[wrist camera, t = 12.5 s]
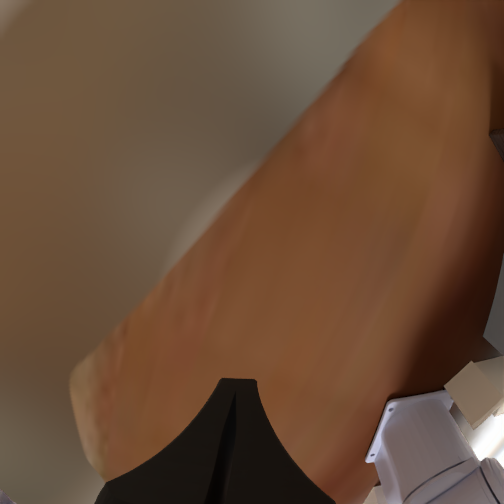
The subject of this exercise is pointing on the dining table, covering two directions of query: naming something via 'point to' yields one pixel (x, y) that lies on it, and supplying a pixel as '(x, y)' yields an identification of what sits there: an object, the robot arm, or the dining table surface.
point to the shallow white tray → (479, 390)
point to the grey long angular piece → (498, 140)
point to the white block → (497, 316)
